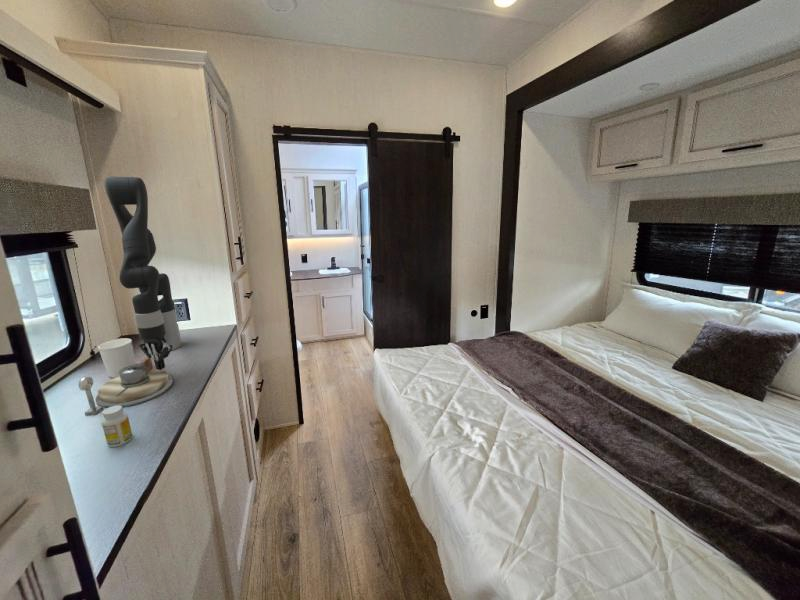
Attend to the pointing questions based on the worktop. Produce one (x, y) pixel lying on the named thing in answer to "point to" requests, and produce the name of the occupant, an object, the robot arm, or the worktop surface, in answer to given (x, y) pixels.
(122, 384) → the cover
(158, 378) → the turntable
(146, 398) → the turntable base
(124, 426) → the supplement bottle
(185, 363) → the worktop surface
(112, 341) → the candle holder
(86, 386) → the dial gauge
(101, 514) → the worktop surface
